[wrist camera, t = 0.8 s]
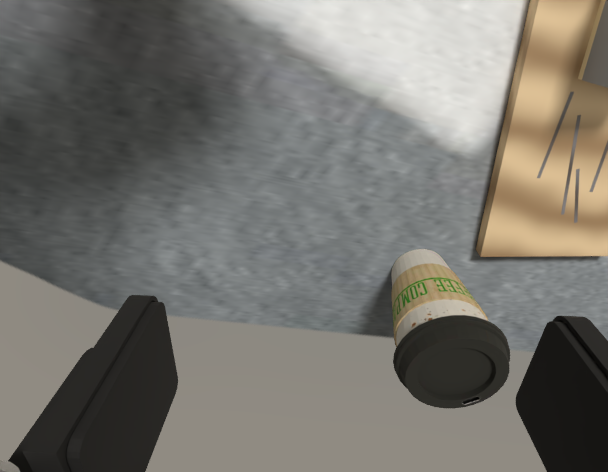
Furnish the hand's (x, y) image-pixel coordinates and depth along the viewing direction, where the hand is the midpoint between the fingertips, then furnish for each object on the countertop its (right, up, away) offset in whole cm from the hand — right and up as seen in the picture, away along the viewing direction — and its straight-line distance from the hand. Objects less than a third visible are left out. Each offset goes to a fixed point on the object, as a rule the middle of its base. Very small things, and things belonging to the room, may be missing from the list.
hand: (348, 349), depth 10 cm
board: (+25, +13, +28) cm, 39 cm away
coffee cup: (+12, -1, +37) cm, 38 cm away
